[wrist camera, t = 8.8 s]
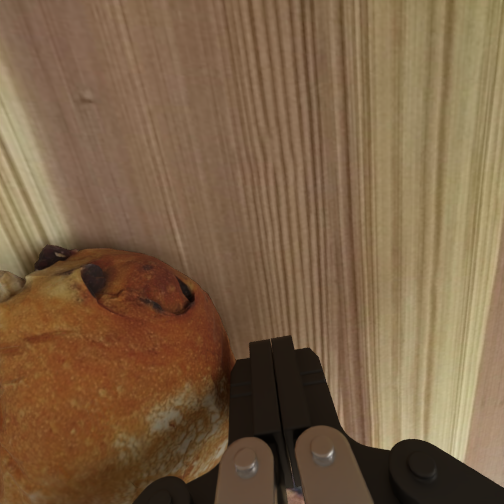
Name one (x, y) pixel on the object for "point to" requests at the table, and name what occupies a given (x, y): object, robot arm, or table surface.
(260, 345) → the robot arm
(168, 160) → the table surface
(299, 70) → the table surface
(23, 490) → the bread roll
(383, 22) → the table surface
